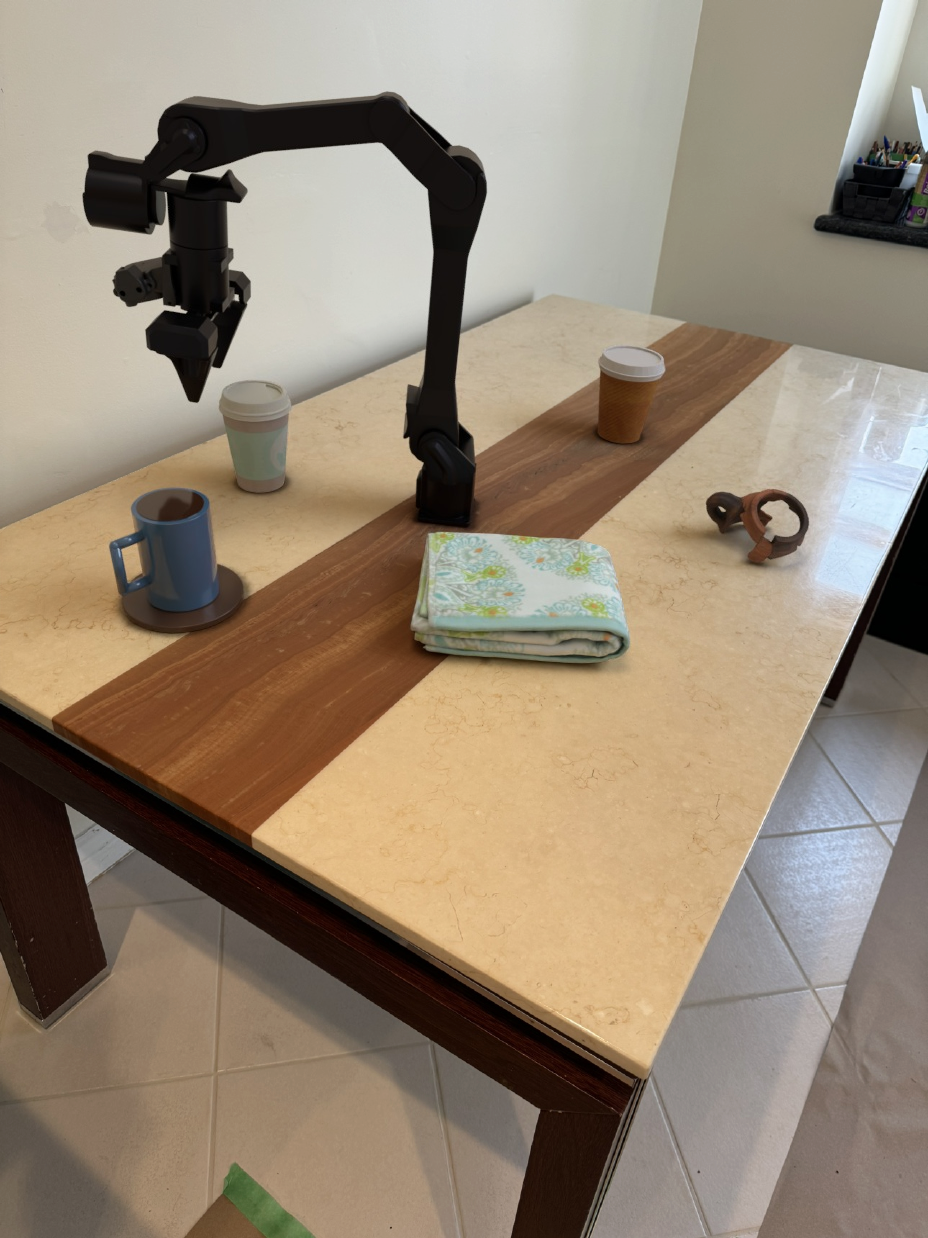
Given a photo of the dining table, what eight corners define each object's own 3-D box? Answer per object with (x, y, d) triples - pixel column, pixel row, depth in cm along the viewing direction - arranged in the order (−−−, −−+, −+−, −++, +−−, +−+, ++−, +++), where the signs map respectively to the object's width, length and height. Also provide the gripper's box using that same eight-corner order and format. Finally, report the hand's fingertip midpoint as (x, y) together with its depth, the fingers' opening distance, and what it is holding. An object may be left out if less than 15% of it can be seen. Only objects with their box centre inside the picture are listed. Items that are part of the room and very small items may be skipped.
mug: (193, 564, 93) (181, 479, 87) (234, 592, 90) (224, 506, 84) (104, 602, 87) (85, 513, 81) (144, 634, 83) (127, 544, 77)
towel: (421, 556, 99) (423, 517, 96) (607, 570, 99) (615, 531, 96) (408, 656, 84) (410, 614, 81) (626, 672, 85) (636, 631, 82)
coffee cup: (280, 502, 107) (275, 410, 100) (215, 492, 108) (204, 399, 101) (305, 472, 113) (301, 383, 106) (242, 462, 114) (235, 373, 107)
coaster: (259, 573, 94) (258, 567, 94) (221, 640, 85) (220, 634, 84) (151, 559, 95) (150, 554, 94) (101, 624, 85) (100, 618, 85)
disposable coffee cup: (579, 439, 127) (591, 359, 120) (596, 416, 135) (609, 339, 128) (642, 454, 125) (659, 372, 118) (656, 429, 132) (673, 351, 125)
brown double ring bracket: (785, 530, 111) (821, 496, 103) (772, 592, 106) (809, 561, 99) (698, 494, 110) (728, 458, 103) (682, 555, 106) (712, 522, 99)
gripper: (149, 203, 95) (160, 340, 105) (83, 255, 81) (102, 409, 91) (251, 220, 96) (252, 355, 106) (203, 275, 82) (210, 426, 91)
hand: (205, 383), depth 98 cm, fingers open, 9 cm apart
